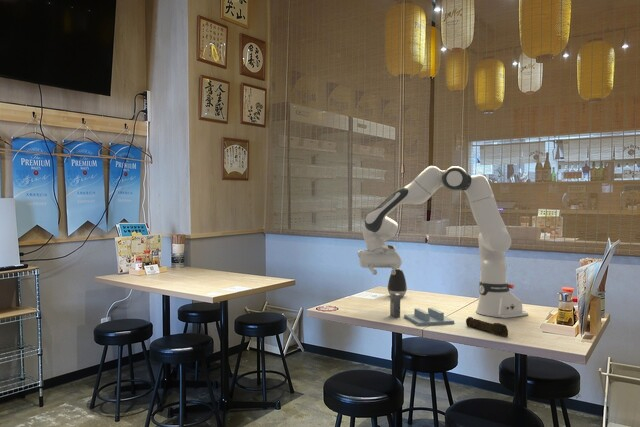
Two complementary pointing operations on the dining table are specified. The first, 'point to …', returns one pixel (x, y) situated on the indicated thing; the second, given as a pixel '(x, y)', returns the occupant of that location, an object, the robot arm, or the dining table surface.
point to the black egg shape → (397, 283)
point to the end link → (395, 305)
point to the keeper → (428, 317)
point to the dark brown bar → (488, 326)
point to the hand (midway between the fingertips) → (384, 274)
